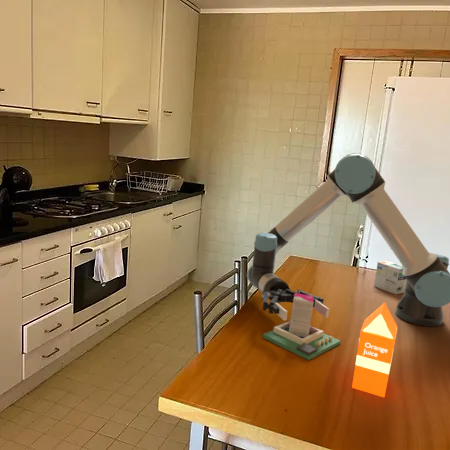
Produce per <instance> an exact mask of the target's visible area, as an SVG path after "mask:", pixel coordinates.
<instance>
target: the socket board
mask: <svg viewBox="0 0 450 450" xmlns="http://www.w3.org/2000/svg"><path fill="white" fill-rule="evenodd" d="M289 326H290V320H288V321H287V322H284V323H281V324H279V325H275V326H273V329H272V330H271V331H267V332H265V333H263V334H262V338H263V339H265V340H266V341H268V342H271V343H273V344H274V345H278V346H279V347H280V348H283V349H285V350H287V351H288V352H289V351H290V353H293V354H296V355H297V356H299V357H301V358H303V359H306V360H307V361H310V360H312V359H313V358H316V357H318V356H320V355H322V354H323V353H325V352H327V351H329V350H332V349H333V348H335V347H336V346H339V345H341V341H342V340H340V339H339V338H336V337H333V336H332V335H329V334H326V333H325V332H324V330H322V329H319V328H317V327H316V326H312V325H310V329H309V335H308V336H307V337H305V338H300V337H298V336H296V335H294V334H292V333H289Z"/></svg>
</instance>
